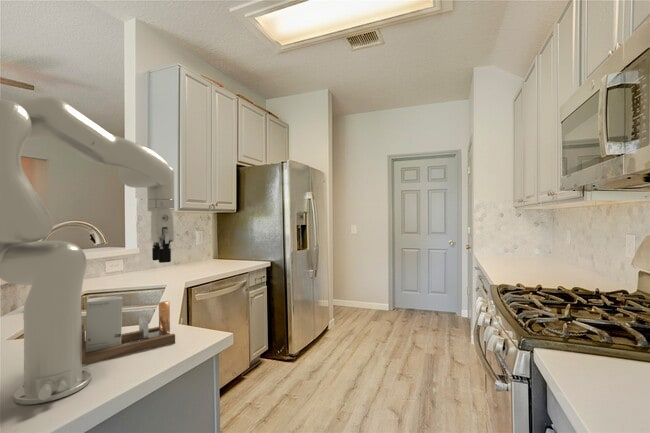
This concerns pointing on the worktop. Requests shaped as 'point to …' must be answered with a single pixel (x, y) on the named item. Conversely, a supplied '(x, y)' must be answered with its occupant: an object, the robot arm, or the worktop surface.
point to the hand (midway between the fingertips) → (161, 261)
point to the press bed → (125, 346)
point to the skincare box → (103, 323)
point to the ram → (163, 323)
